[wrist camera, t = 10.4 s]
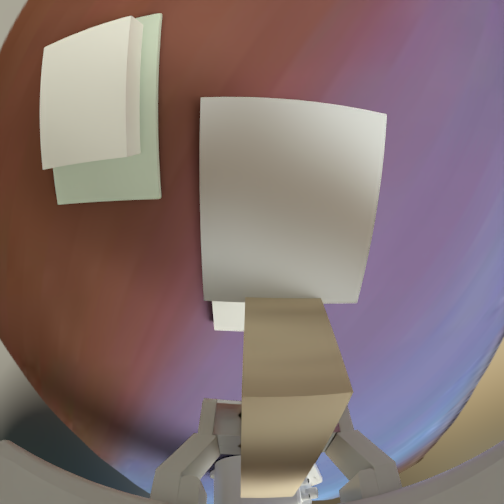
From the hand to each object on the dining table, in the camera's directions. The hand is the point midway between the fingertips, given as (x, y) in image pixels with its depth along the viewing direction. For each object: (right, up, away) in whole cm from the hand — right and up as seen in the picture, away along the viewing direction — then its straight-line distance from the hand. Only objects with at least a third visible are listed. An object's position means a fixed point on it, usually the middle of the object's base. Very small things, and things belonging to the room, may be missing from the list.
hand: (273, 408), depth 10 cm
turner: (0, +3, 0) cm, 3 cm away
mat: (-11, +16, +5) cm, 20 cm away
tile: (-11, +12, +5) cm, 17 cm away
